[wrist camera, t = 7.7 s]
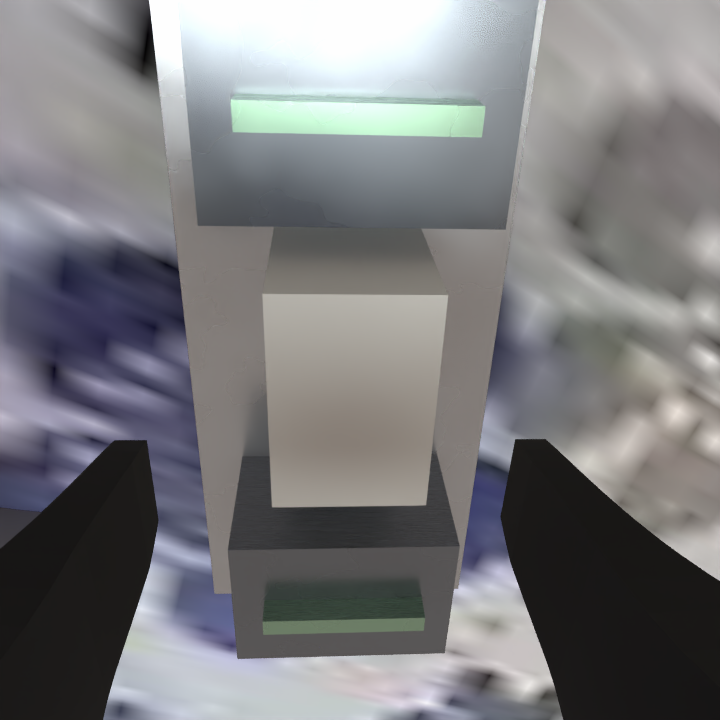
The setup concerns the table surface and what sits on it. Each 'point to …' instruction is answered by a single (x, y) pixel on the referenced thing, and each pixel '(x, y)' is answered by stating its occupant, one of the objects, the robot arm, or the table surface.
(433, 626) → the rail station
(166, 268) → the table surface
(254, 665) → the table surface
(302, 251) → the block
